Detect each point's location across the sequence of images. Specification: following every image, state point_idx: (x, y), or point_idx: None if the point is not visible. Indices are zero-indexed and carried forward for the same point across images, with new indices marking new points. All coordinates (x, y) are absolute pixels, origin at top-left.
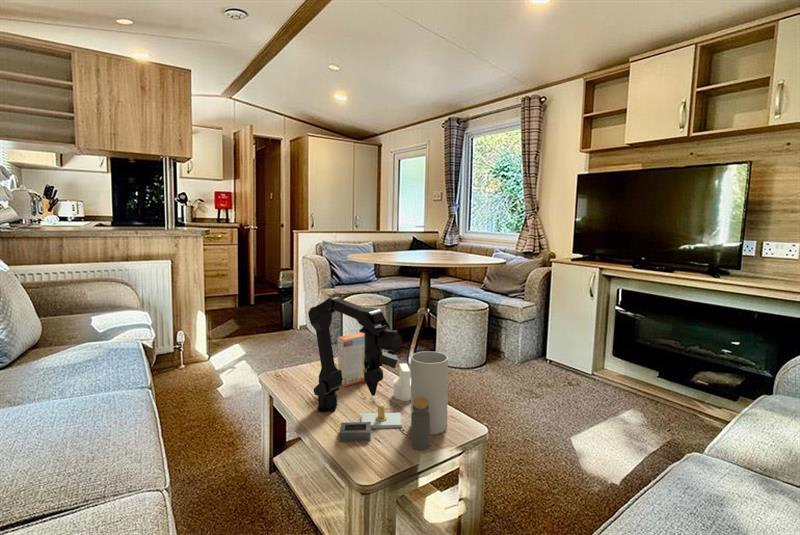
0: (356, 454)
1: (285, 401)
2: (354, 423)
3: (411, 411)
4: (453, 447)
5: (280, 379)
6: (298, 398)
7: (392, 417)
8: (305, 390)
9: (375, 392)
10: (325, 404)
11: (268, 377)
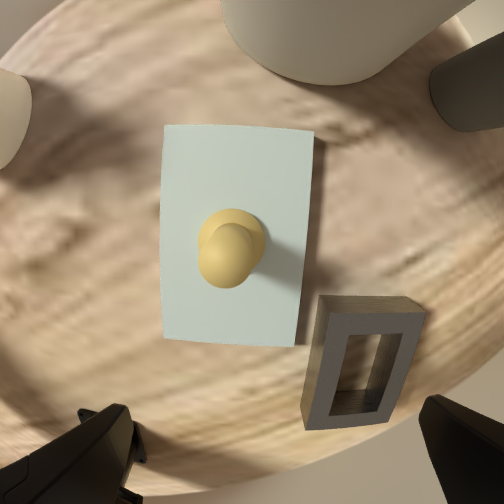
0: (461, 337)
1: None
2: (328, 386)
3: (360, 52)
4: None
5: None
6: None
7: (220, 173)
8: (30, 450)
9: (465, 408)
10: (132, 462)
11: None
